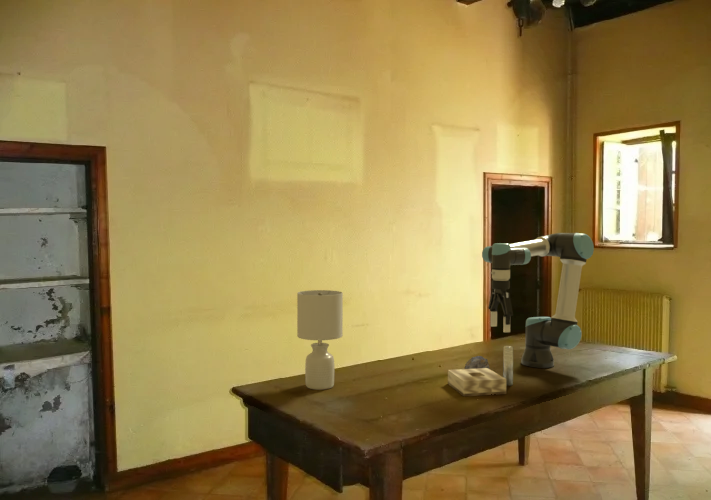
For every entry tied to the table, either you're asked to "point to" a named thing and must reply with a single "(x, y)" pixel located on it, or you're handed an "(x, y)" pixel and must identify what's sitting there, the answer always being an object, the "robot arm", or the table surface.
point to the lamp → (319, 333)
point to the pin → (508, 364)
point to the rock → (477, 363)
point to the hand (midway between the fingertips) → (500, 329)
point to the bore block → (476, 382)
